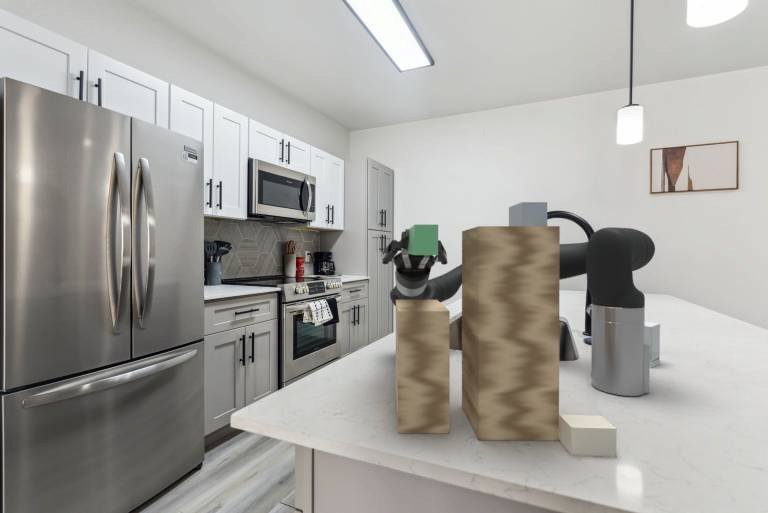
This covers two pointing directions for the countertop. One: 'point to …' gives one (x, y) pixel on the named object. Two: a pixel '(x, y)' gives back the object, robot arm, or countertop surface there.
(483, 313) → the oak shelf block
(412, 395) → the oak ledge
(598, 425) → the cream brick
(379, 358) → the countertop surface
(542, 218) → the slate-blue brick
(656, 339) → the skincare box
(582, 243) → the robot arm
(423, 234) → the green bar
